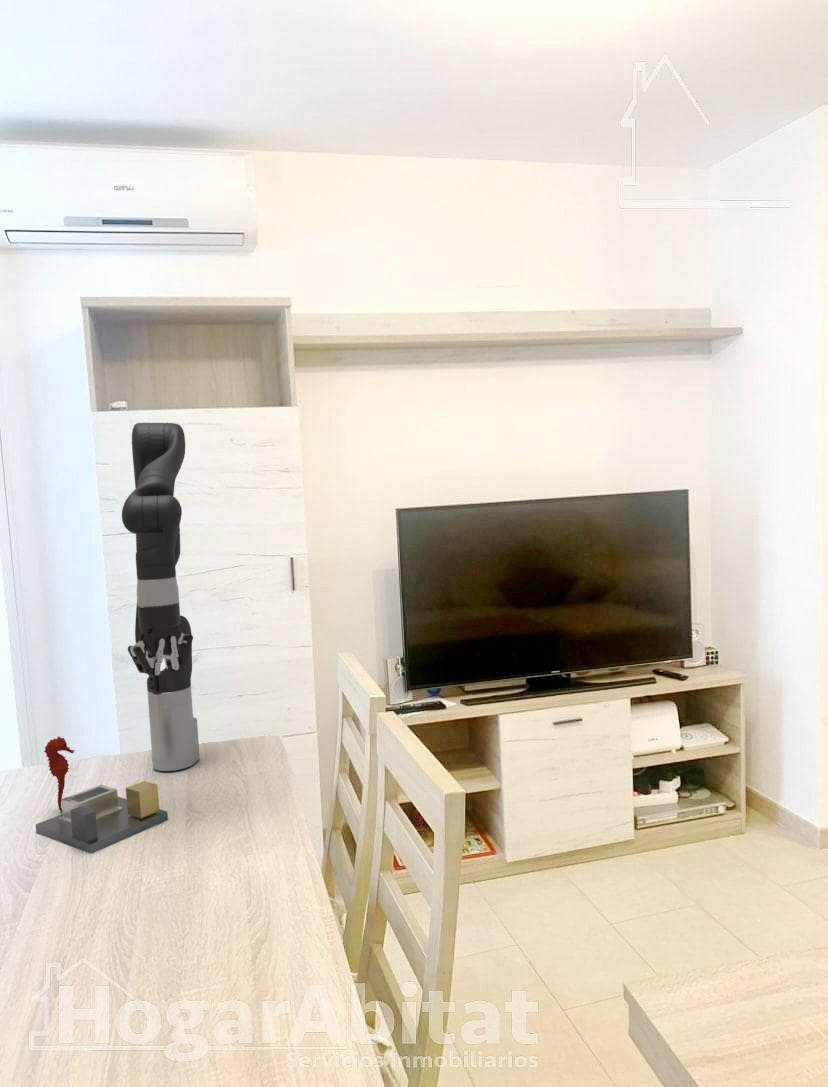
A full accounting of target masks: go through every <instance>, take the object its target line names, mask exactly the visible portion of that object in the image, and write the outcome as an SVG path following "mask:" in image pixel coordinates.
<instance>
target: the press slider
mask: <svg viewBox="0 0 828 1087" xmlns="http://www.w3.org/2000/svg"><path fill="white" fill-rule="evenodd" d="M158 787H159V785H158V784H156V783H153V782H150V781H146V780H142V781H140V782H138V783H135V784H133V785H130V786H127V787H126V788H125V795H126V798H125V799H127V811H128V815H131V816H135V817H138V818H144V817H146V816H149V815H151V814H153V813H156V812H158V811H159V809H160V803H159V802H160V800H159V799H160V798H159V788H158Z"/></svg>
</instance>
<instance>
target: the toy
mask: <svg viewBox="0 0 828 1087" xmlns="http://www.w3.org/2000/svg"><path fill="white" fill-rule="evenodd" d="M49 740H50V741H48V742H47V744H46V746H44V749H45V750H44V752H43V753H45V754H46V756H45V757H47V758H48V759H47V761H48V763H47V764H48V766H47V767H49V770H48V771H50V774H51V775H52V777H53V778H54V777H55V779H56V780H57V782H56V783H58V784H57V787H58V788H57V790H58V792H57V805H58V806H57V807H58V810H59V812H60V813H62V802H61V799H63V795H64V789H65V782H66V779H65V778H66V775H67V773H69V769H70V764H69V763H68V762H69V761H68V759H66V756H64V755H63V754H61V753H59V752H62V751H63V752H64V751H66V752H68V753H71V754H74V752H75V751H76V750H75V749H70V748H71V746H68V744H67V741H66V740H65V738H64V737H61V736H57V738H53V739H49Z"/></svg>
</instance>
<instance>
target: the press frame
mask: <svg viewBox="0 0 828 1087" xmlns="http://www.w3.org/2000/svg"><path fill="white" fill-rule="evenodd" d="M61 808H62V812H61V813H62V814H60V815H57V816H53V817H51V818H49V819H46V820H43V821H41V822H38V823H35V831H36V832H35V833H37V834H39V835H42V836H45V837H47V838H50V839H53V840H54V841H58V842H60V843H63V844H65V845H68V846H71V847H73V848H76V849H78V850H81V851H84V852H86V853H89V854H92V853H95V852H96V851H99V850H103V849H104V848H106V847H108V846H110V845H113V844H115V843H117V842H118V843H119V841H122V840H125V839H127V838H128V837H131V836H133V835H136V834H138V833H141V832H142V831H145V830H147V829H149V828H152V827H154V826H156V825H159V824H161V823H163V822H165V821H168V820H169V817H168V815H169V814H168V811H167V810H163V809H161V808H159V811H158V812H156V813H153V814H151V815H149V816H146V817H144V818H138V817H135V816H131V815H128V811H127V798H125V797H122V796H118V789H116V788H112V787H109V786H106V785H103V784H99V785H96V786H94V787H91V788H89V789H86V790H83V791H80V792H78V793H74V794H72V795H70V796H67V797H64V798H63V797H62V799H61Z"/></svg>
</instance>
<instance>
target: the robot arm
mask: <svg viewBox="0 0 828 1087" xmlns="http://www.w3.org/2000/svg"><path fill="white" fill-rule="evenodd" d="M131 451H132V460H133V461H132V462H133V465H132V466H133V475H134V486H135V489H134V490H133V491H132V492H131V493H130V494H129V495H128V497H127V498H126V499H125V501H124V503H123V506H122V510H121V520H122V524H123V526H124V528H125V529H126V530H127V531H129V533H131V534H135V543H136V544H135V546H136V552H135V568H136V578H137V579H136V611H135V623H134V624H135V627H134V634H135V635H134V636H135V637H134V640H135V641H134V642H135V644H133V645H129V646H128V647H127V651H128V654H129V655H130V657H131V659H132V661H133V663H134V665H135V667H136V669H137V671H138V673H140V674H146V675H147V676H148V677H147V680H146V689H147V690H146V692H147V701H148V702H147V703H148V704H147V705H148V716H149V718H148V719H149V730H150V731H149V732H150V746H151V759H152V768H153V769H154V770H155V771H160V772H172V771H179V770H183V769H186V768H189V767H191V766H193V765H194V764H196V762H197V761H200V760H201V759H200V744H199V728H198V718H196V717H194V708H193V695H192V682H191V681H192V674H193V652H192V651H193V641H194V640H193V639H194V636H193V635H192V634H193V633H192V628H191V624H190V621H189V619H187V617H185V616H183V615H181V610H180V609H181V608H180V596H179V593H180V591H179V585H178V581H177V571H176V569H177V568H176V566H177V564H178V563H179V562H178V561H179V559H180V555H181V528H180V525H181V519H182V515H183V514H182V513H183V512H182V506H181V503H180V501H179V500H178V499H177V498H176V497H175V496H174V495H175V482H176V479H177V476H178V475H179V472H180V470H181V468H182V464H183V463H184V460H185V454H186V437H185V432H184V429H183V427H182V426H181V425H180V424H178V423H175V422H137V423H135V424H134V426H133V428H132V431H131ZM163 660H164V666H165V667H164V668H163V670H161V668H162V666H161V665H162V663H163Z"/></svg>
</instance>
